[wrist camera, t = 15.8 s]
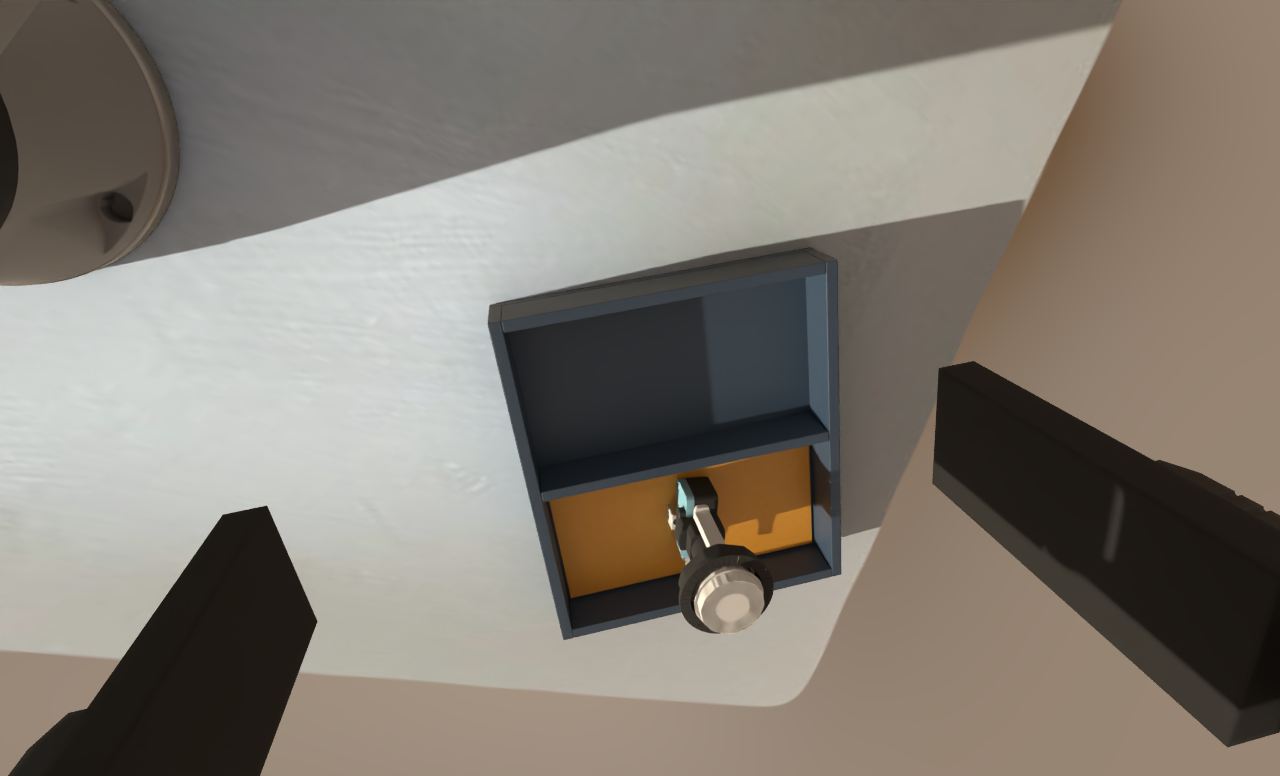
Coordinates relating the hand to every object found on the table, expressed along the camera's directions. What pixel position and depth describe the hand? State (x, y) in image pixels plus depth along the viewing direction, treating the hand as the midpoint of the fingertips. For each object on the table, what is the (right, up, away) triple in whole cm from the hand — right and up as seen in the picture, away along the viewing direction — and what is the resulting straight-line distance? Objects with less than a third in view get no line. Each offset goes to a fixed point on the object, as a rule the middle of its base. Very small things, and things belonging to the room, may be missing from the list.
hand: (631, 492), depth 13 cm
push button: (+3, -6, +32) cm, 33 cm away
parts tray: (+2, -1, +31) cm, 31 cm away
